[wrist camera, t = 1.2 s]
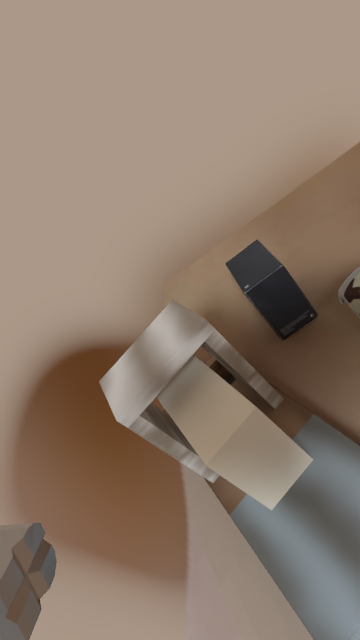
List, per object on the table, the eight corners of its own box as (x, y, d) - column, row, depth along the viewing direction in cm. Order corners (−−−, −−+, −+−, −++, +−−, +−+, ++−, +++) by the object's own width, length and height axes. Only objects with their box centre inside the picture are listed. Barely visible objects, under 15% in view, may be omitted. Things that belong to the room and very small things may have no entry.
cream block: (241, 398, 42) (191, 352, 38) (313, 459, 32) (256, 406, 27) (209, 435, 42) (154, 394, 37) (271, 510, 31) (205, 465, 27)
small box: (321, 314, 48) (284, 263, 43) (282, 342, 50) (242, 295, 45) (290, 282, 57) (257, 236, 52) (258, 306, 58) (223, 264, 54)
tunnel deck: (233, 362, 54) (153, 284, 45) (461, 525, 26) (368, 402, 17) (177, 426, 53) (85, 359, 44) (352, 667, 25) (192, 616, 16)
